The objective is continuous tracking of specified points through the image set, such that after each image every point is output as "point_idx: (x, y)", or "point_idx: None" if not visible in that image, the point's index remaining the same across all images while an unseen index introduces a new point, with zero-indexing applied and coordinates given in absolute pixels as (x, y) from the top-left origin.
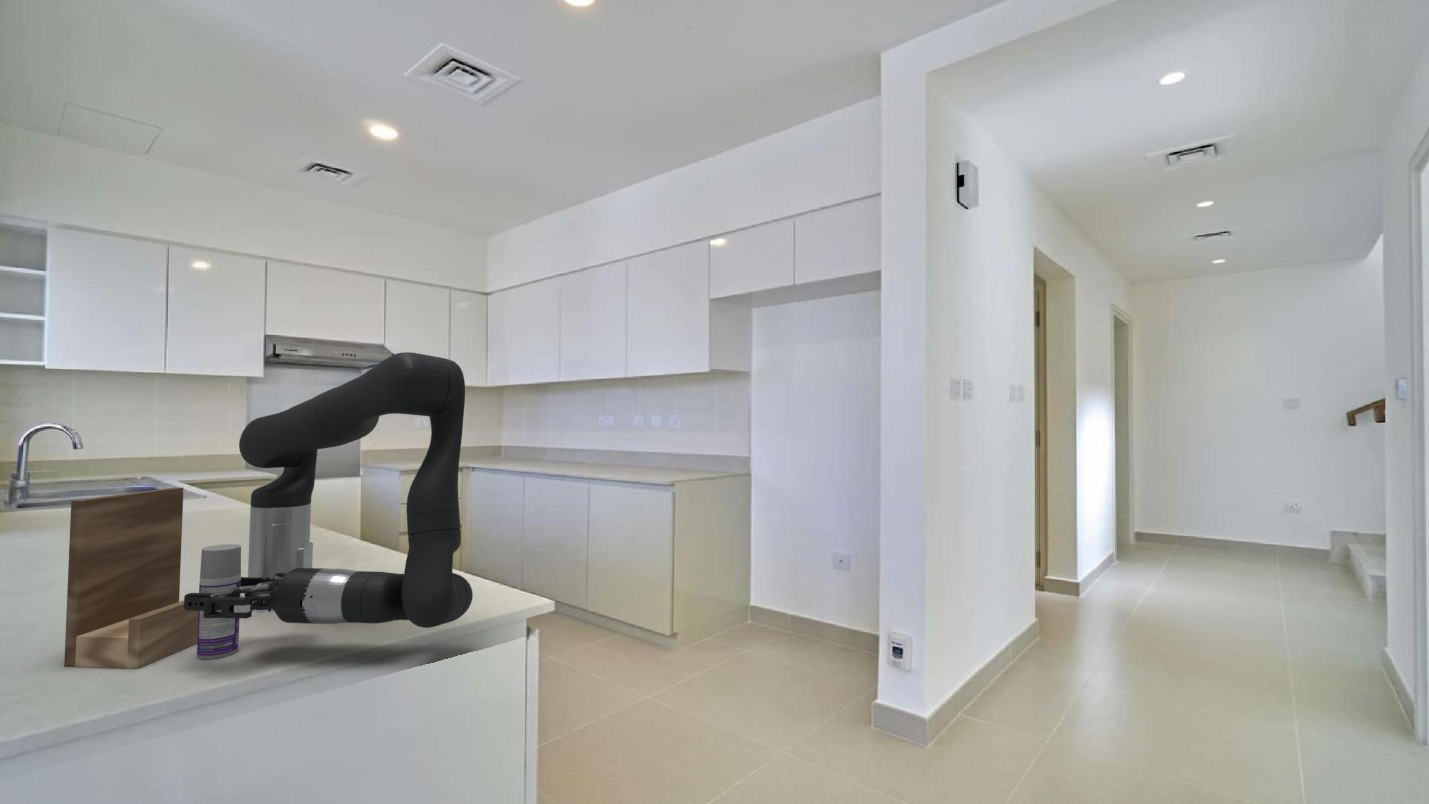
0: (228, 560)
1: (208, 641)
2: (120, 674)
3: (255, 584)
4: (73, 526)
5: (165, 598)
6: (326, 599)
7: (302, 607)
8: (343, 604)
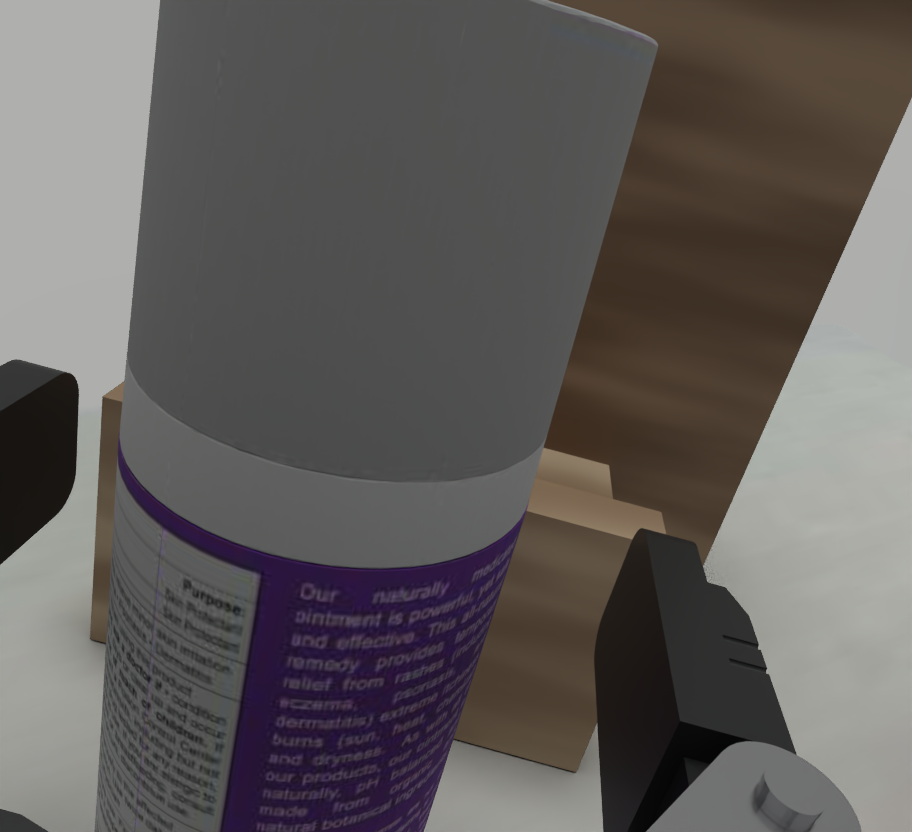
0: (199, 145)
1: None
2: (30, 605)
3: (642, 761)
4: None
5: (667, 443)
6: None
7: None
8: None
